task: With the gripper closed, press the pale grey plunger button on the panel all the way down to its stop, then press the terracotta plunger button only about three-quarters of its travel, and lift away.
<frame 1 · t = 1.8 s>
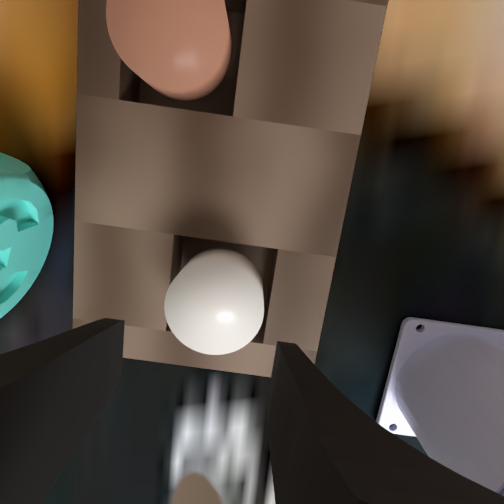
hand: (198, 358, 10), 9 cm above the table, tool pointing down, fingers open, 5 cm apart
button panel: (220, 170, 18), on the table
terracotta button: (175, 34, 13), point 4 cm above the table, slide at 0.0 cm
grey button: (217, 298, 16), point 4 cm above the table, slide at 0.0 cm
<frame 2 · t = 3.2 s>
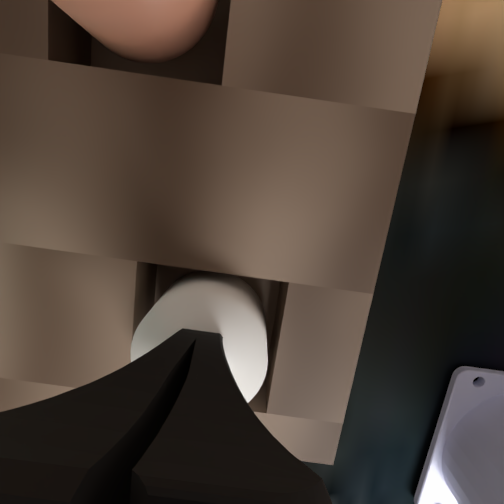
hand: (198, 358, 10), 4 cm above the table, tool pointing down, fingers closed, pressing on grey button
button panel: (208, 167, 13), on the table
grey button: (205, 338, 12), point 3 cm above the table, slide at 1.2 cm, touching gripper
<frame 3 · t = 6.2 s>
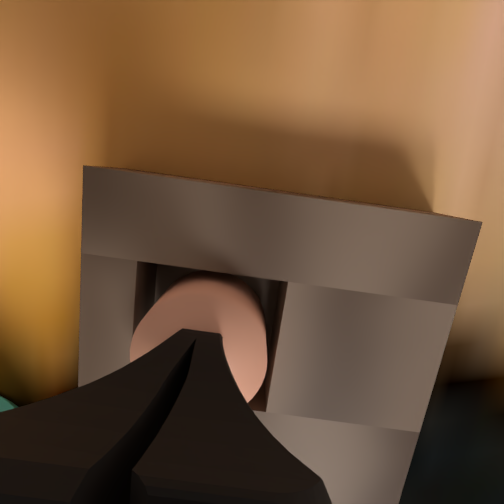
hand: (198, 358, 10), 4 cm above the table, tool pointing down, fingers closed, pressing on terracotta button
button panel: (244, 409, 16), on the table
terracotta button: (205, 339, 12), point 3 cm above the table, slide at 1.1 cm, touching gripper
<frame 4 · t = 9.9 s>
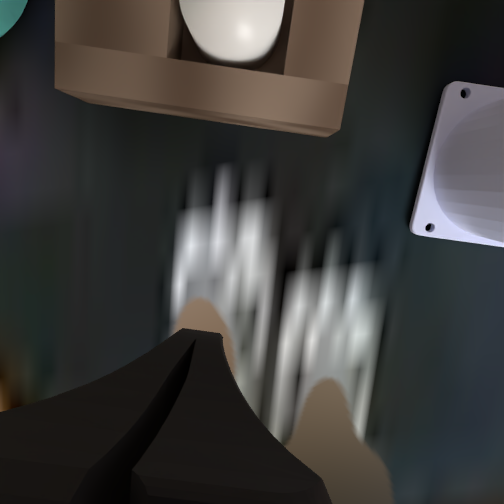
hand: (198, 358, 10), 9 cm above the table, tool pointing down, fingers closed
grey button: (234, 11, 15), point 2 cm above the table, slide at 2.1 cm
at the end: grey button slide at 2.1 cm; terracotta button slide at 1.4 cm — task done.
